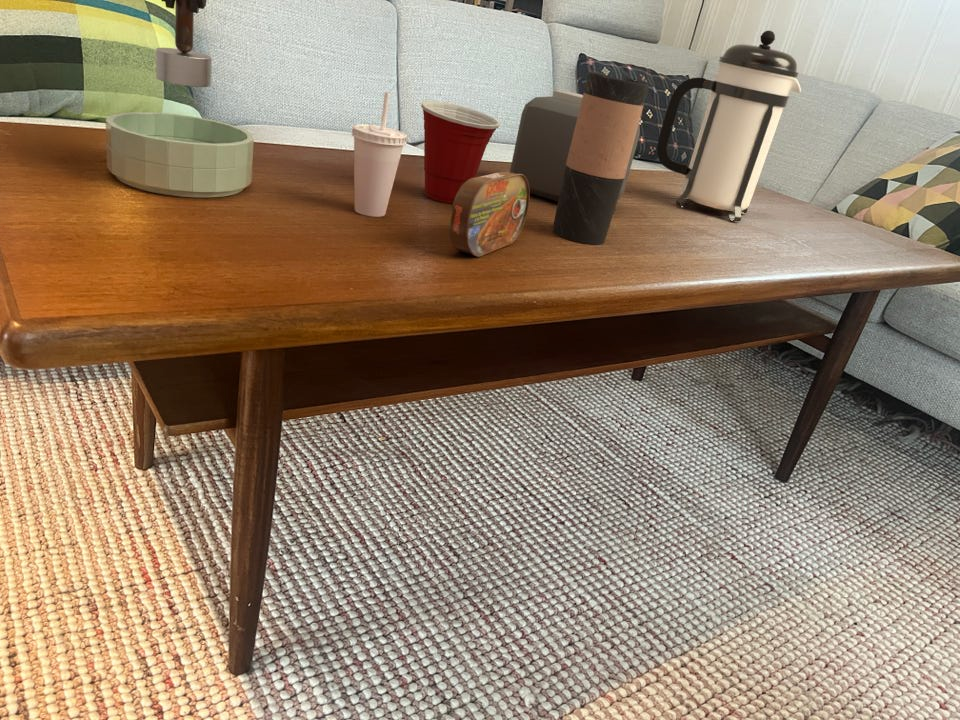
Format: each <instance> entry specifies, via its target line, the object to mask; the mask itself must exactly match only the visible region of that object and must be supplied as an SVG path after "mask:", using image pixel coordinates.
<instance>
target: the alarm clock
mask: <svg viewBox="0 0 960 720" xmlns="http://www.w3.org/2000/svg"><path fill="white" fill-rule="evenodd" d="M582 98H583V94H580V93H576V92H572V91H568V90H563V89H554V90H553V92H552V96H534V98H532V99H530V100H529V101H528V102H527V103H525V105H524V107H523V110H522V111H521V116H520V121H519V125H518V130H517V134H516V140H515V145H514V150H513V155H512V160H511V165H510V169H509V172H510V173H514V174H523V175H524V176H525V177H526V179H527V181H528V184H529V190H530V195H534V196H536V197H537V196H538V197H541V198H544V199H547V200H550V201H554V202H556V203H558V200H559V195H560V191H561V186H562V181H563V176H564V171H565V167H566V162H567V158H568V154H569V150H570V146H571V142H572V138H573V134H574V130H575V126H576V122H577V118H578V114H579V110H580V106H581V102H582ZM640 132H641V125H640V123H639V124H638V128H637V132H636V136H635V140H634V143H633V147H632V151H631V155H630V158H629V162H628V166H627V170H626V174H625V177H624V181H623V184H622V187H621V190H620V194H619V197H618V200H621V197H622V196H623V194H624V192H625V189H626V186H627V182H628V179H629V175H630V171H631V168H632V164H633V161H634V158H635V153H636V150H637V146H638V142H639V138H640V135H641V134H640ZM618 200H617V201H618Z"/></svg>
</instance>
